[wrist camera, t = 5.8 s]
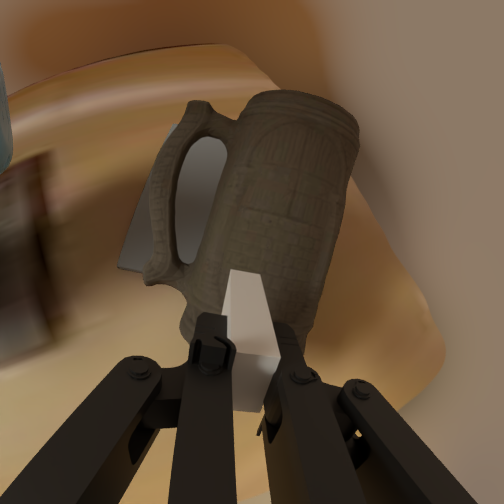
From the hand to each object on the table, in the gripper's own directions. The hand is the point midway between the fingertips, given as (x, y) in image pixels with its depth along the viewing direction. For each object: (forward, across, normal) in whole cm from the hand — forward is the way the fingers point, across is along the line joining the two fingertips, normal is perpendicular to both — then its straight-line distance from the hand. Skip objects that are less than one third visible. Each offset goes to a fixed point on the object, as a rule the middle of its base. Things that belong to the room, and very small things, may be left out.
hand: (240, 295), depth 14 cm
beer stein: (+6, 0, -7) cm, 9 cm away
